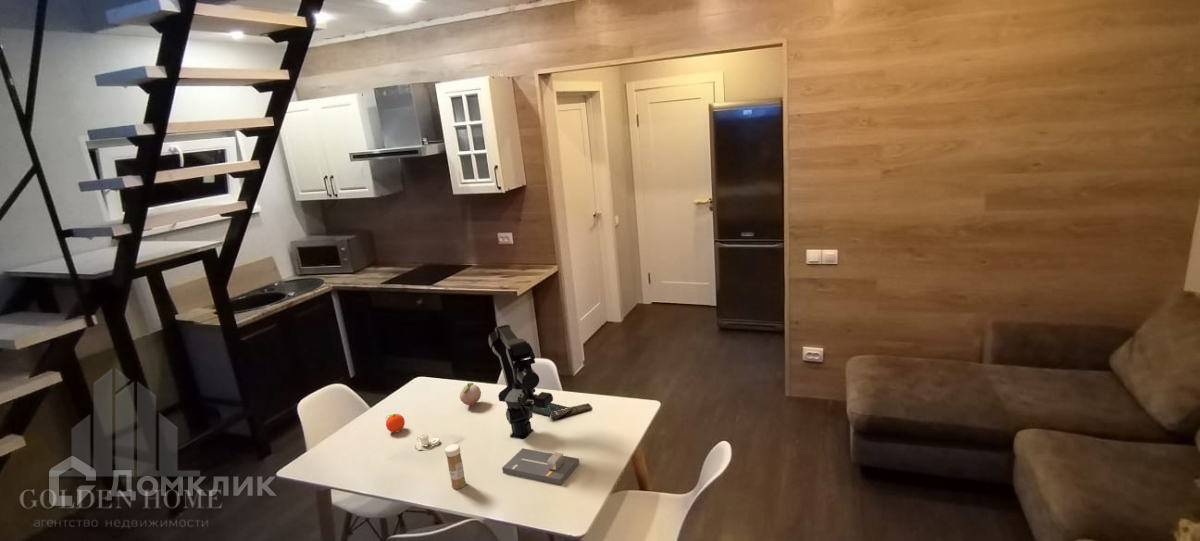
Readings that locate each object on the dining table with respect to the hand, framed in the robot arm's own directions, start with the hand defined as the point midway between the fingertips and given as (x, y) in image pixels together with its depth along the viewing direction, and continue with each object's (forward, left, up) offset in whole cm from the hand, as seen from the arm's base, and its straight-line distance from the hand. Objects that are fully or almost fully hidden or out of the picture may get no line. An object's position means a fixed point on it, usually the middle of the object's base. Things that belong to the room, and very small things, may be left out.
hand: (528, 419), depth 197 cm
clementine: (-61, -4, -12) cm, 62 cm away
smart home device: (-12, +27, -13) cm, 32 cm away
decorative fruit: (-44, +22, -12) cm, 51 cm away
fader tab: (+15, -9, -9) cm, 20 cm away
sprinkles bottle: (-12, -25, -12) cm, 30 cm away
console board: (+9, -9, -12) cm, 17 cm away
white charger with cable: (-39, -10, -12) cm, 42 cm away
